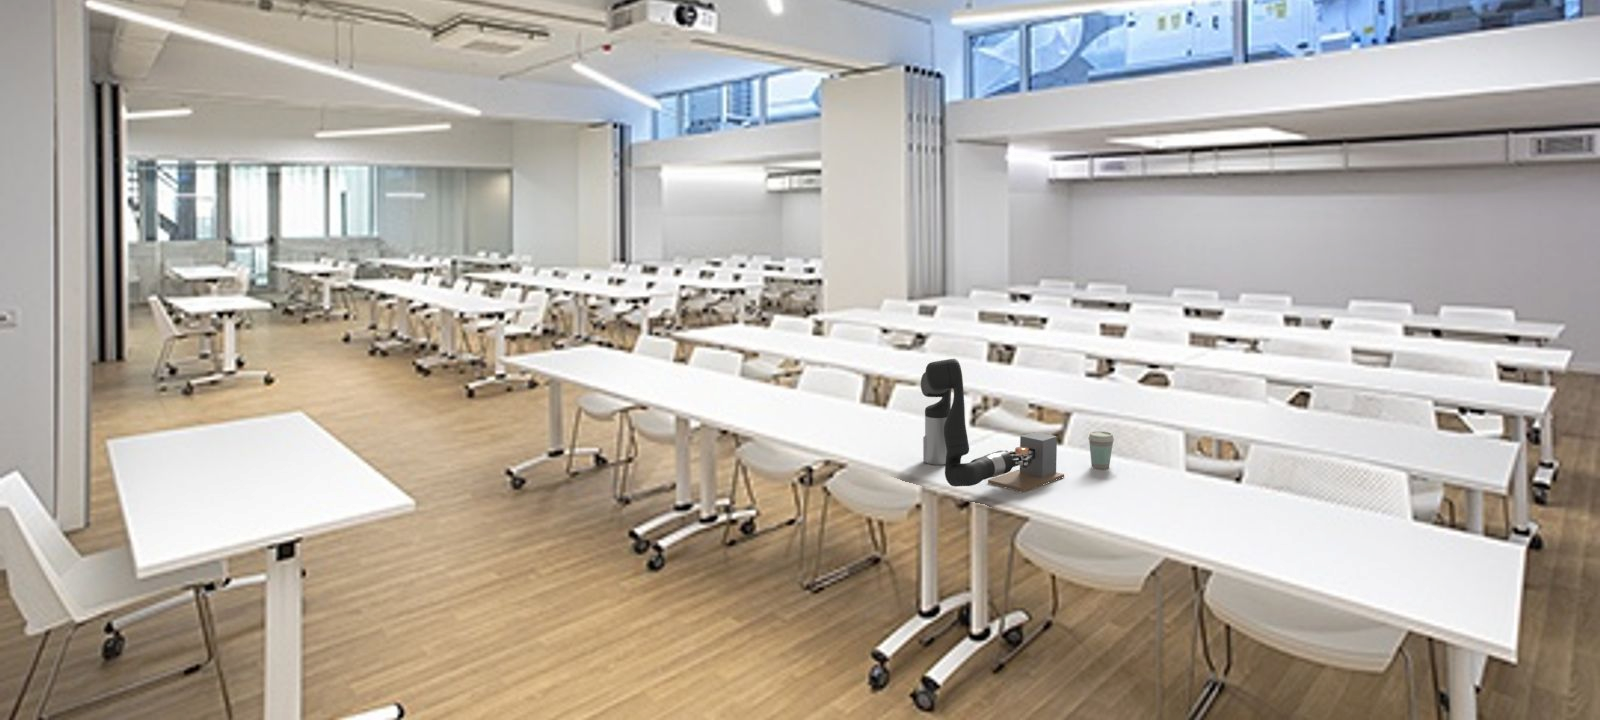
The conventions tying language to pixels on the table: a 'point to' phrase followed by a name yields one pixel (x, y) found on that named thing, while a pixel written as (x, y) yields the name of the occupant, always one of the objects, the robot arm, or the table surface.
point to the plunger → (1023, 451)
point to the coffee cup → (1100, 449)
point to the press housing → (1033, 464)
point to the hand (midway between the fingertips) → (1026, 454)
